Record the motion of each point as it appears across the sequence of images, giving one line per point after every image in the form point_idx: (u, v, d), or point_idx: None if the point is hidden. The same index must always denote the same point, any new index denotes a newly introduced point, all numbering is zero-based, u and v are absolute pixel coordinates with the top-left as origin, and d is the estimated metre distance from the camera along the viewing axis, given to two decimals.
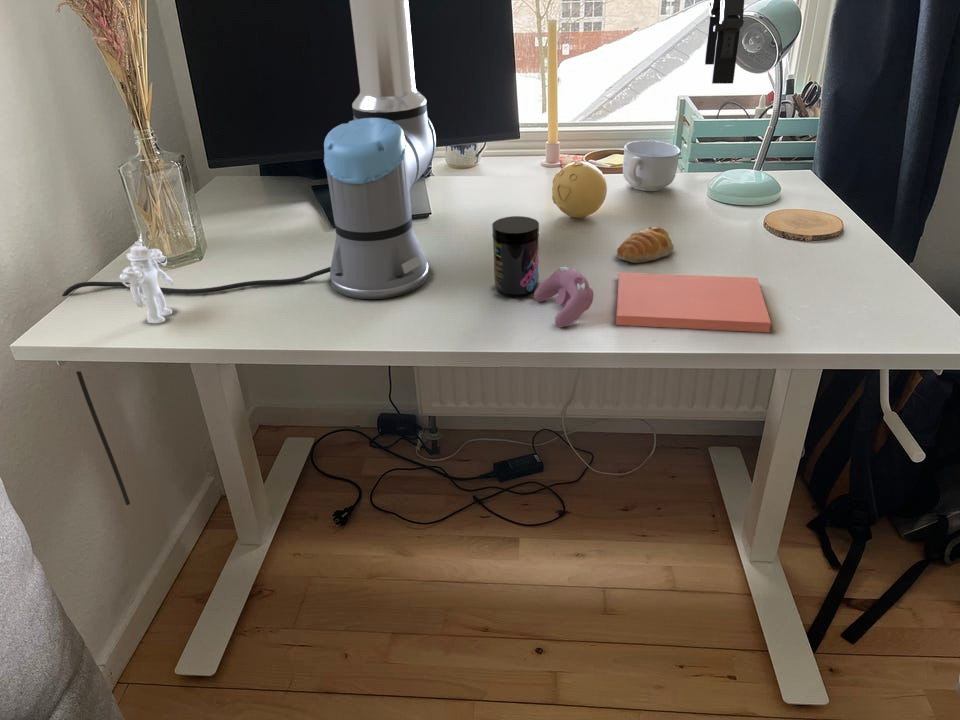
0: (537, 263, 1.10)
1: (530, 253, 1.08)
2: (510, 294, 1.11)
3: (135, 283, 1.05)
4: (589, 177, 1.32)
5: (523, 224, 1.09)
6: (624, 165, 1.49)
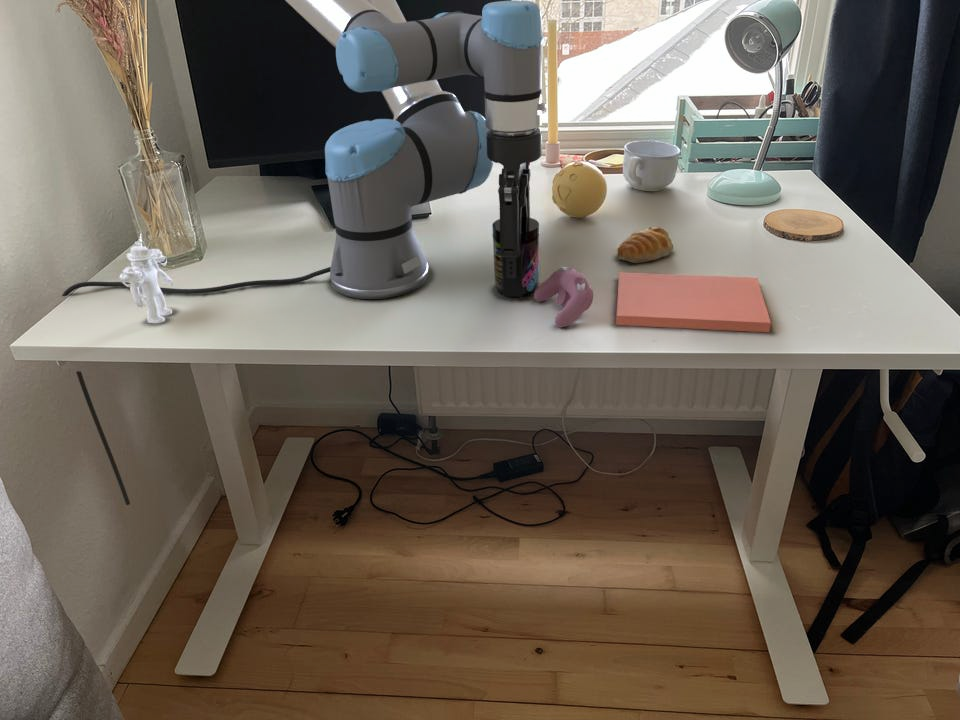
0: (537, 263, 1.10)
1: (530, 253, 1.08)
2: None
3: (135, 283, 1.05)
4: (589, 177, 1.32)
5: (523, 224, 1.09)
6: (624, 165, 1.49)
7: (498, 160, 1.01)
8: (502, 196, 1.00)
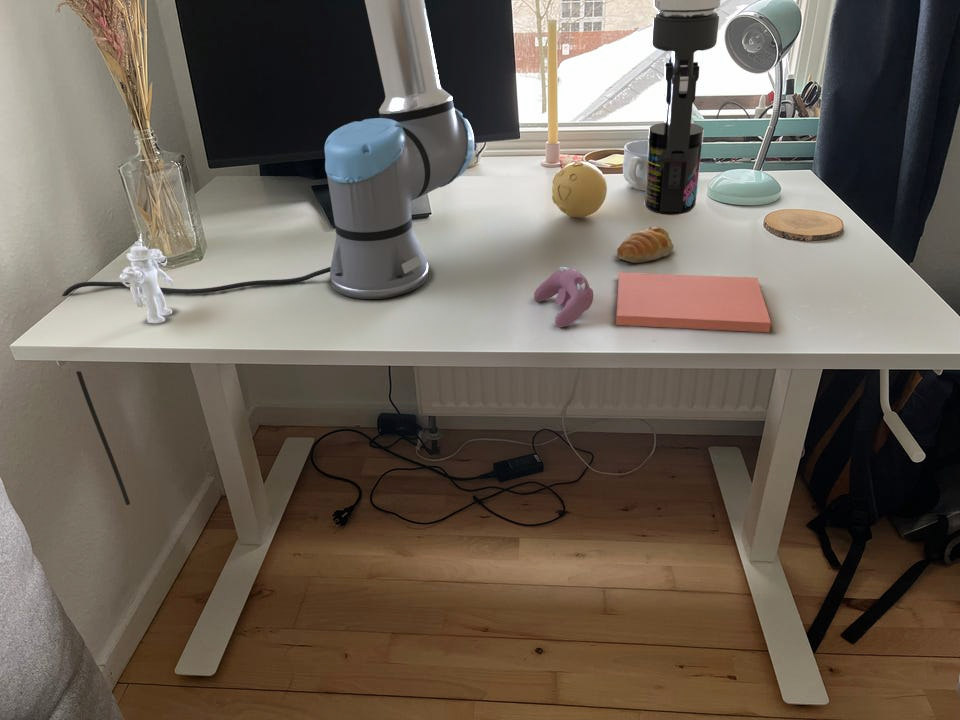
0: (698, 174, 0.97)
1: (694, 160, 0.95)
2: None
3: (135, 283, 1.05)
4: (589, 177, 1.32)
5: None
6: (624, 165, 1.49)
7: (670, 47, 0.88)
8: (676, 87, 0.87)
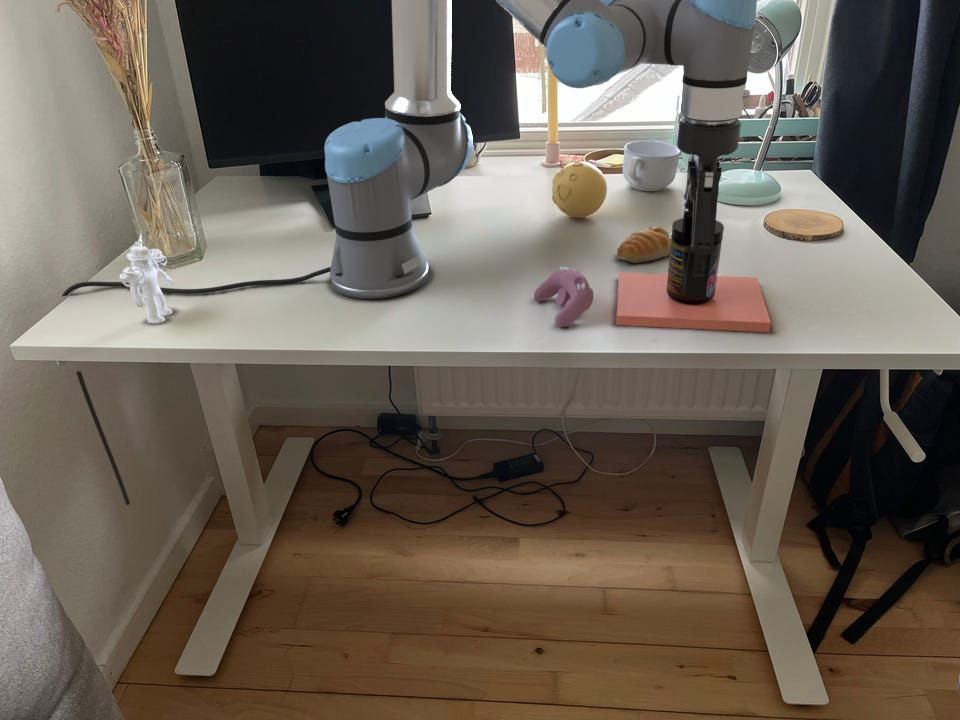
0: None
1: (714, 256, 1.01)
2: (688, 300, 1.04)
3: (135, 283, 1.05)
4: (589, 177, 1.32)
5: None
6: (624, 165, 1.49)
7: (694, 152, 0.93)
8: (702, 181, 0.91)
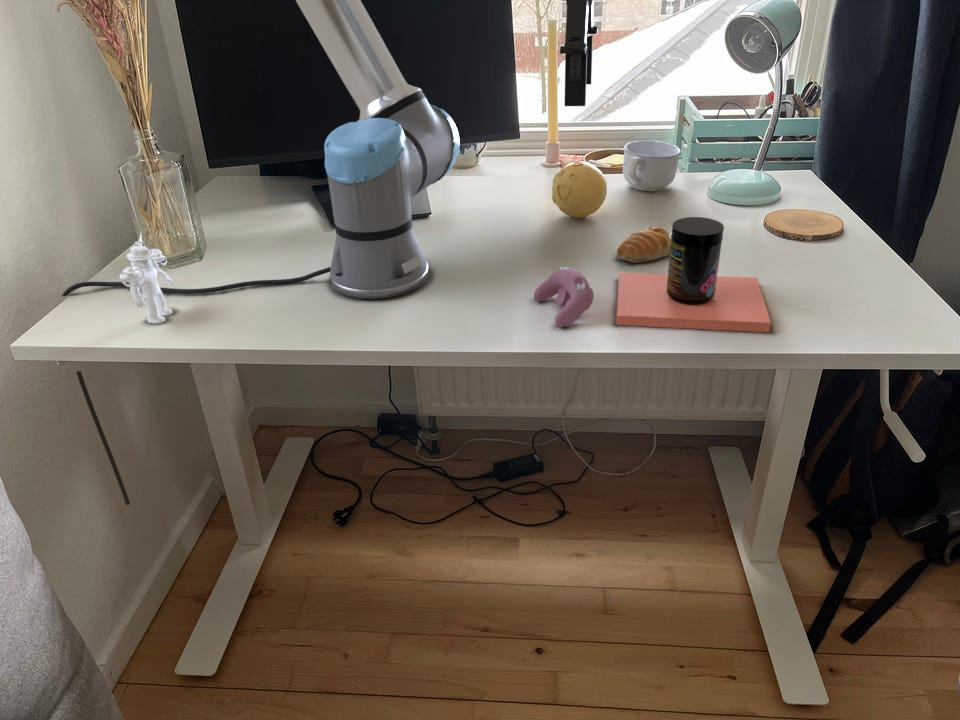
0: None
1: (714, 256, 1.01)
2: (688, 300, 1.04)
3: (135, 283, 1.05)
4: (589, 177, 1.32)
5: (706, 225, 1.01)
6: (624, 165, 1.49)
7: None
8: None
